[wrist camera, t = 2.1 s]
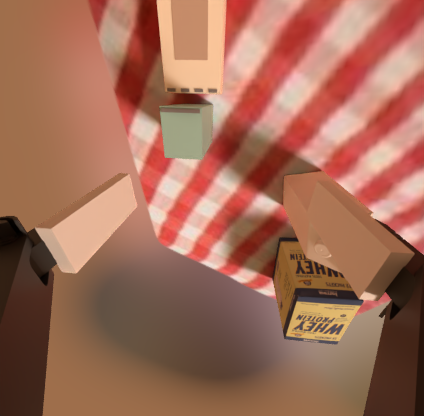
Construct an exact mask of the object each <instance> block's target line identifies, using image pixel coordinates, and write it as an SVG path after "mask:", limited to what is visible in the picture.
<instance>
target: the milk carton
mask: <svg viewBox="0 0 424 416" xmlns="http://www.w3.org/2000/svg"><path fill="white" fill-rule="evenodd" d="M317 181H330V182H331V183H332V184H334V185H335V186H336V187H337V188H338V189H339V190H341V191H342V192H343V193H344V194H345V195H347V196H348V197H349V198H350V199H351V200H352V201H354V202H355V203H356V204H357V205H358V206H359V207H361V208H362V209H363V210H364V211H365V212H367V213H368V214H369V215H370V216H371V217H372V216H373V212H372V211H371V210H369V209H368V208H367V207H366V206H365V205H363V204H362V203H361V202H360V201H359V200H357V199H356V198H355V197H354V196H353V195H351V194H350V193H349V192H348V191H346V190H345V189H344V188H343V187H342V186H340V185H339V184H338V183H337V182H336V181H334V180H333V179H332V178H331V177H330V176H328V175H327V174H326V173H325V172H324V171H318V172H310V173H302V174H294V175H285V176H284V189H283V207H284V209H285V211H286V213H287V216H288V218H289V220H290V222H291V225H292V227H293V229H294V231H295V234H296V236H297V238H298V241H299V243H300V245H301V247H302V250H303V252H304V254H305V256H306V258H308V259H310V260H313V261H315V262H317V263H319V264H322V265H324V266H326V267H328V268H331V269H333V270H335V271H338V272H340V273H342V271H341V270H340V268H339V267H338V265H337V263H336V262H335V260H334V259H333V257H332V255H331V254H330V252H329V251H328V249H327V247H326V246H325V244H324V243H323V241H322V239H321V238H320V236H319V235H318V233H317V231H316V230H315V228H314V227H313V225H312V223H311V222H310V220H309V219H308V217H307V212H308V209H309V206H310V202H311V199H312V196H313V193H314V190H315V187H316V183H317ZM342 274H343V273H342ZM343 276H344V275H343ZM344 277H345V276H344ZM345 279H346V278H345ZM346 280H347V279H346Z"/></svg>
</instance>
